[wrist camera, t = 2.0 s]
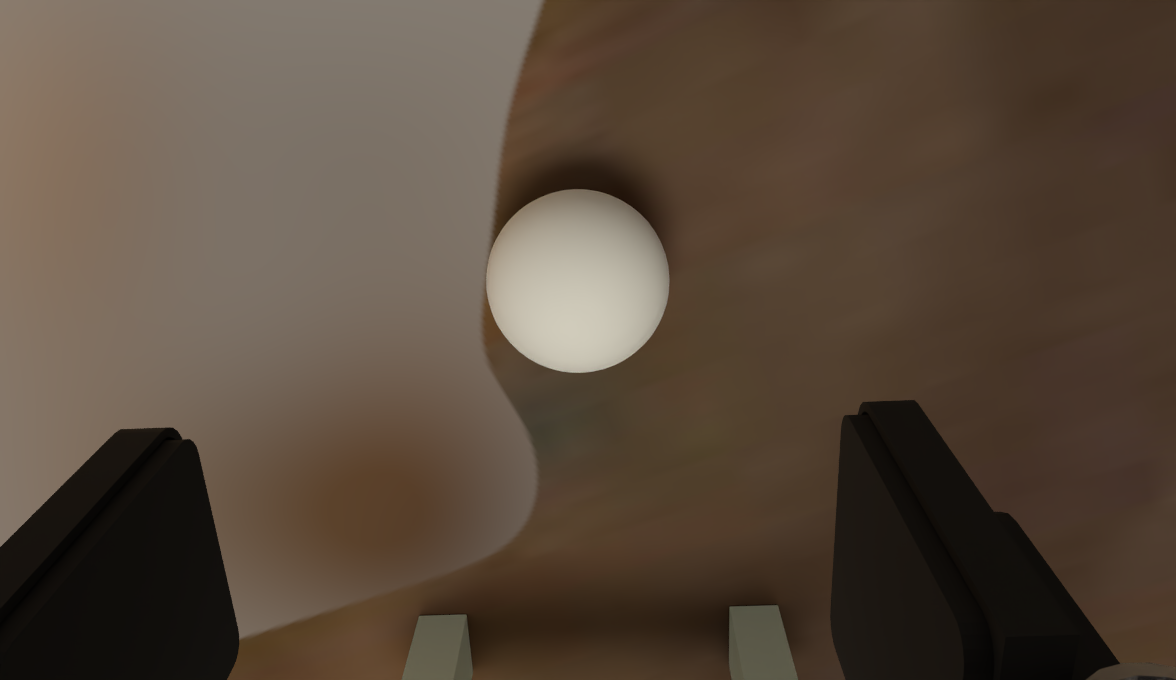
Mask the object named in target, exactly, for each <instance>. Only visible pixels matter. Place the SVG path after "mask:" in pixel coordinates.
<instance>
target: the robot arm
mask: <svg viewBox="0 0 1176 680" xmlns="http://www.w3.org/2000/svg"><path fill="white" fill-rule="evenodd" d="M830 618H831V630H832V637H833V642H834V646H835V649H836V652H837V655H838V658H839V661H840V664H841V667H842V670H843V673H844V676H845V679H846V680H1176V667H1171V666H1165V665H1159V664H1153V663H1121V664H1120V663H1119V662H1118V660H1117V659H1116V657H1115V656H1114V655H1113V653H1112V652H1111V651H1110V649H1109V648H1108V646H1107V645H1106V644H1105V642H1104V641H1103V640H1102V638H1101V637H1100V635H1099V634H1098V633H1097V631H1096V630H1095V629H1094V627H1093V626H1092V624H1091V623H1090V622H1089V620H1088V619H1087V618H1086V616H1085V615H1084V613H1083V612H1082V611H1081V609H1080V608H1079V607H1078V605H1077V604H1076V603H1075V601H1074V600H1073V598H1072V597H1071V596H1070V594H1069V593H1068V592H1067V590H1066V589H1065V587H1064V586H1063V585H1062V583H1061V582H1060V581H1059V579H1058V578H1057V576H1056V575H1055V574H1054V572H1053V571H1052V570H1051V568H1050V567H1049V565H1048V564H1047V563H1046V561H1045V560H1044V559H1043V557H1042V556H1041V554H1040V553H1039V552H1038V550H1037V549H1036V548H1035V546H1034V545H1033V543H1032V542H1031V541H1030V539H1029V538H1028V537H1027V535H1026V534H1025V533H1024V531H1023V530H1022V528H1021V527H1020V526H1019V524H1018V523H1017V522H1016V521H1015V520H1014V519H1013V518H1012V517H1011V516H1010V515H1009V514H1008V513H1004V512H993V510H992V509H991V507H990V506H989V504H988V503H987V502H986V500H985V499H984V497H983V496H982V494H981V493H980V492H979V490H978V489H977V487H976V486H975V484H974V483H973V482H972V480H971V479H970V477H969V476H968V474H967V473H966V472H965V470H964V469H963V467H962V466H961V464H960V463H959V462H958V460H957V459H956V457H955V456H954V454H953V453H952V452H951V450H950V449H949V447H948V446H947V444H946V443H945V442H944V440H943V439H942V437H941V436H940V434H939V433H938V432H937V430H936V429H935V427H934V426H933V424H932V423H931V422H930V420H929V419H928V417H927V416H926V414H925V413H924V412H923V410H922V409H921V407H920V406H919V404H918V403H917V402H916V401H915V400H904V401H877V402H862V404H861V405H860V408H859V412H858V415H845V416H844V418H843V421H842V426H841V440H840V457H839V474H838V491H837V508H836V526H835V543H834V560H833V577H832V594H831V615H830ZM238 649H239V632H238V626H237V622H236V617H235V613H234V609H233V604H232V599H231V595H230V591H229V586H228V582H227V577H226V573H225V569H224V564H223V560H222V555H221V551H220V546H219V542H218V537H217V533H216V528H215V524H214V520H213V515H212V511H211V506H210V502H209V498H208V493H207V489H206V485H205V480H204V476H203V471H202V466H201V462H200V457H199V453H198V450H197V447H196V445H195V444H194V442H193V441H191V440H190V439H187V440H182V437H181V436H180V434H179V433H178V431H177V430H175V429H174V428H146V429H145V428H144V429H121V430H119V431H118V432H116V433H115V434H114V435H113V436H112V437H110V439H108V441H106V443H104V445H102V446H101V447H100V448H99V450H97V451H96V452H95V454H94V455H92V456H91V457H90V458H89V460H87V461H86V462H85V463H84V464H83V465H82V466H81V467H80V469H78V470H77V472H75V473H74V474H73V475H72V476H71V477H70V478H69V479H68V480H67V481H66V482H65V483H64V484H63V485H62V486H61V487H60V488H59V489H58V490H57V491H56V492H55V493H54V494H53V495H52V496H51V497H50V498H49V499H48V500H47V501H46V502H45V503H44V504H43V505H42V506H41V507H40V508H39V509H38V510H37V511H36V512H35V513H34V514H33V515H32V516H31V517H30V518H29V519H28V520H27V521H26V522H25V523H24V524H23V525H22V526H21V527H20V528H19V529H18V530H17V531H16V532H15V533H14V534H13V535H12V536H11V537H10V538H9V539H8V540H7V541H6V542H5V543H4V544H3V545H2V546H1V547H0V680H227V678H228V676H229V674H230V672H231V670H232V668H233V667H234V664H235V662H236V659H237V655H238Z"/></svg>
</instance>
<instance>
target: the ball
mask: <svg viewBox="0 0 1176 680" xmlns="http://www.w3.org/2000/svg"><path fill="white" fill-rule="evenodd" d="M486 289H487V295H488V301H489V304H490V308H491V311H492V314H493V316H494V319H495V321H496V323H497V325H498V327H499V328H500V330H501V331H502V333H503V334H504V336H505V337H506V338H507V339H508V341H509V342H510V343H511V344H512V345H513V346H514V347H515V348H516V349H517V350H518V351H519V352H521V353H522V354H523V355H525V356H526V357H527V358H529V359H531V360H532V361H534V362H536V363H538V364H540V365H543V366H545V367H548V368H551V369H554V370H558V371H564V372H574V373H583V372H593V371H597V370H602V369H605V368H608V367H611V366H614V365H616V364H618V363H620V362H622V361H624V360H625V359H627V358H628V357H630V356H631V355H633V354H634V353H635V352H636V351H637V350H638V349H640V348H641V347H642V346H643V345H644V344H645V343H646V342H647V340H648V339H649V338H650V337H651V335H652V334H653V333H654V331H655V330H656V328H657V326H658V324H659V322H660V320H661V318H662V316H663V313H664V310H665V307H666V304H667V299H668V294H669V268H668V262H667V258H666V254H665V252H664V249H663V246H662V244H661V242H660V240H659V238H658V236H657V234H656V232H655V231H654V229H653V228H652V227H651V225H650V224H649V222H648V221H647V220H646V219H645V218H644V217H643V216H642V215H641V214H640V213H639V212H638V211H636V210H635V209H634V208H633V207H631V206H630V205H628V204H627V203H625V202H623V201H622V200H620V199H618V198H616V197H613V196H611V195H609V194H605V193H602V192H598V191H593V190H586V189H571V190H562V191H558V192H554V193H550V194H548V195H545V196H542V197H540V198H538V199H536V200H534V201H532V202H530V203H529V204H527V205H526V206H524V207H523V208H522V209H520V210H519V211H518V212H517V213H516V214H515V215H514V216H513V217H512V218H511V219H510V220H509V221H508V222H507V224H506V225H505V226H504V227H503V229H502V230H501V232H500V234H499V235H498V237H497V239H496V241H495V243H494V245H493V248H492V250H491V253H490V257H489V261H488V267H487V275H486Z"/></svg>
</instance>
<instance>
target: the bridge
mask: <svg viewBox="0 0 1176 680" xmlns="http://www.w3.org/2000/svg"><path fill="white" fill-rule="evenodd" d="M729 668H730V673H731V679H732V680H798V678H797V674H796V670H795V667H794V663H793V659H792V656H791V652H790V648H789V644H788V641H787V637H786V633H785V630H784V626H783V622H782V619H781V615H780V611H779V608H778V605H765V606H732V607H730V610H729ZM472 674H473V667H472V658H471V649H470V641H469V632H468V623H467V614H463V615H429V616H419V618H418V622H417V626H416V629H415V633H414V637H413V640H412V644H411V648H410V651H409V655H408V659H407V662H406V666H405V670H404V673H403V677H402V680H472Z"/></svg>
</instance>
